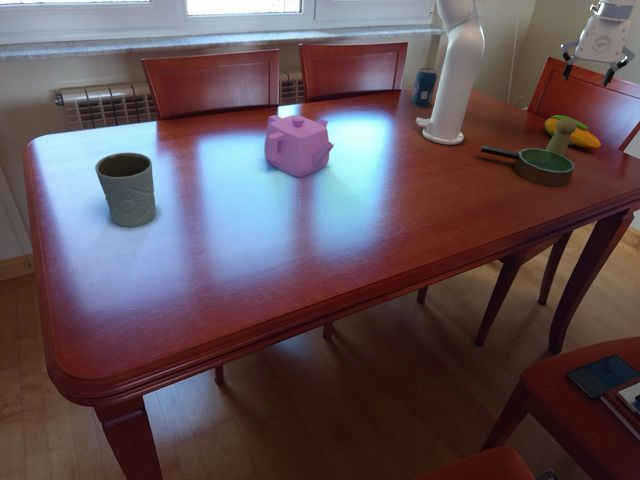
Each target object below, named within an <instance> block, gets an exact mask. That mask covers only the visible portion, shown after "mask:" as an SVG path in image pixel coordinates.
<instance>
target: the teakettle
mask: <svg viewBox="0 0 640 480" xmlns="http://www.w3.org/2000/svg"><path fill="white" fill-rule="evenodd" d="M328 123H329V121H328V120H326V119H319V121H318V122H316V121H314V120H311V119H310V118H307V117H305V116H302V115H298V114H292V115H288V116H286V117H280V116H278V115H275V114H273V115H270V116H268V117H267V130H266V134H265V138H264V157H265V160H266V162H267V163H269V164H270V165H272V166H273V167H274V168H276V169H278V170H280V171H282V172H284V173H286V174H288V175H291V176H293V177H295V178H303V177H306V176H308V175H310V174H314V173H315V172H318V171H320V170H322V169H324V168H326V167H327V165H328V163H329V162H330V161H329V160H330V152H331V151H332V149H333V148H334V146H335V145H334V144H333V143H332V142H331V141H330V139H329V132H328V128H327V126H328Z"/></svg>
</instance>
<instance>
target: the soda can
mask: <svg viewBox="0 0 640 480" xmlns="http://www.w3.org/2000/svg"><path fill="white" fill-rule="evenodd" d="M437 78H438V76H437V71H436V70H435V69H432V68H427V67H423V68H420V69H419V70H418V72H417V73H416V77H415V83H414V88H413V92H412V98H411V101H412V105H414V106H416V107H419V108H427V107H428V106H430V104H431V103H432V100H433V96H434V91H435V87H436V82H437Z"/></svg>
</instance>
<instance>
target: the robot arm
mask: <svg viewBox="0 0 640 480" xmlns="http://www.w3.org/2000/svg"><path fill="white" fill-rule="evenodd" d="M435 3H436V4H435V5H436V10H437V14H438V16H439V18H440V19H441V20H442V24H443V27H444V30H445V34H446V37H447V42H448V43H447V48H446V52H445V57H444V61H443V65H442V69H441V72H440V77H439V81H438V86H437V91H436V94H435V99H434V104H433V108H432V113H431V116H430V118H426V119H425V118H423V117H416V119H415V122H414V123H415V124H416V125H417V126H418V127H421V128H423V129H422V135H423V137H424V138H426V139H427V140H428V141H431V142H433V143H436V144H440V145H449V146H450V145H452V146H454V145H458V144H461V143H462V142H463V141H464V138H465V136H464V134H463V133H462V132H461V130H462V126H463V122H464V119H465V116H466V112H467V108H468V105H469V103H470V102H469V101H470V98H471V94H472V91H473V86H474V83H475V80H476V76H477V73H478V70H479V67H480V63H481V61H482V59H483V56H484V51H485V45H486V44H485V43H486V42H485V36H484V32H483V27H482V23H481V19H480V17H479V12H478V8H477V4H476V0H435ZM636 3H637V0H599V2H598V3H595V4H594V3H593V4H592V5H591V7H590V11H593V12H594V15H593V14H592V15H591V16H590V18H589V19H588V21H587V22H586V25H585V26H584V28H583V30H582V32H581V35H580V37H579V38H578V39H575V40H572V41H569V42H565V43H562V44H561V46H560V47H561V48H560V49H561V53H562V57H563V59H564V61H565V63H566V64H565V67H564V69H563V72H562V74H561V76H562V77H563V81H566V82H567V81H568V79H569V77H570V75H571V72H572V70H573V67H574V65H573V64H574V63H575V62H576V61H578V60H582V61H587V62H595V63H602V64H609V66H610V67H609V68H608V69H607V71H606V72H605V75H604V77H603V79H602V82H601V84H602V86H603V87H604V88H606V87H607V86H608V84H611V83H612V80H613V78H614V75H615V73H616V72H618V71H619V70H620V69H622V68H624V67H625V66H627V65H628V63H630V62H631V61H633V60H634V58H635V57H636V55H635V53H634V52H632V51H631V50H630V49H629V48H627V47H626V46H625V44H626V41H627V38H628V36H629V32H630V28H631V24H632V20H630V16H631V14H632V12H633V10H634V8H635V5H636ZM574 47H575V49H574V53H573V54H572V55H569V51H568V50H569V49H571V48H574ZM621 54H624V55H625V57H624V58H623V59H621V60H620V61H619V59H620V57H621Z"/></svg>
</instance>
